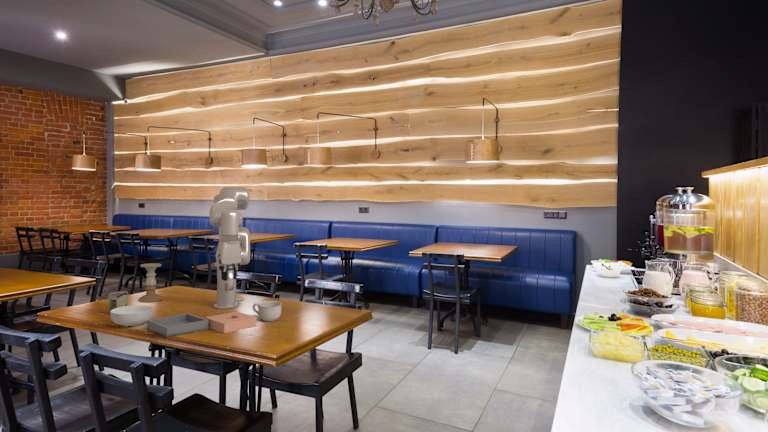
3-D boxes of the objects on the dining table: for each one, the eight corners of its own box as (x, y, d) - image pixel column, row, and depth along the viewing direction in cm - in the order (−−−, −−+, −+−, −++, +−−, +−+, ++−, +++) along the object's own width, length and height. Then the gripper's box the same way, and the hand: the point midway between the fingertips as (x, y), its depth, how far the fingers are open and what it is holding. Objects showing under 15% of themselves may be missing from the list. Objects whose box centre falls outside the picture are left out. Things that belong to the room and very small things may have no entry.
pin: (230, 288, 203) (230, 264, 203) (235, 289, 201) (235, 265, 201) (222, 289, 200) (222, 265, 200) (227, 291, 198) (227, 266, 197)
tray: (187, 321, 207) (187, 313, 207) (208, 328, 196) (208, 319, 196) (147, 329, 193) (147, 320, 193) (166, 337, 182) (167, 328, 182)
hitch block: (236, 319, 212) (236, 311, 212) (256, 325, 202) (256, 317, 202) (204, 326, 200) (204, 317, 200) (224, 333, 190) (224, 323, 190)
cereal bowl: (122, 332, 189) (122, 315, 189) (102, 326, 198) (102, 310, 198) (161, 323, 204) (161, 308, 203) (140, 318, 212) (140, 303, 212)
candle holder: (133, 301, 246) (133, 265, 246) (148, 297, 259) (148, 262, 258) (153, 303, 244) (153, 266, 244) (167, 298, 257) (168, 263, 256)
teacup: (285, 318, 217) (285, 302, 216) (273, 323, 206) (273, 306, 206) (261, 315, 221) (261, 299, 221) (247, 320, 211) (247, 303, 211)
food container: (115, 310, 226) (115, 290, 226) (128, 310, 227) (128, 290, 226) (102, 316, 214) (102, 295, 214) (115, 316, 214) (115, 295, 214)
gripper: (241, 237, 209) (240, 276, 209) (207, 239, 196) (207, 280, 196) (250, 238, 204) (250, 278, 205) (217, 240, 191) (216, 282, 192)
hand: (229, 279), depth 200 cm, fingers closed on pin, 4 cm apart
